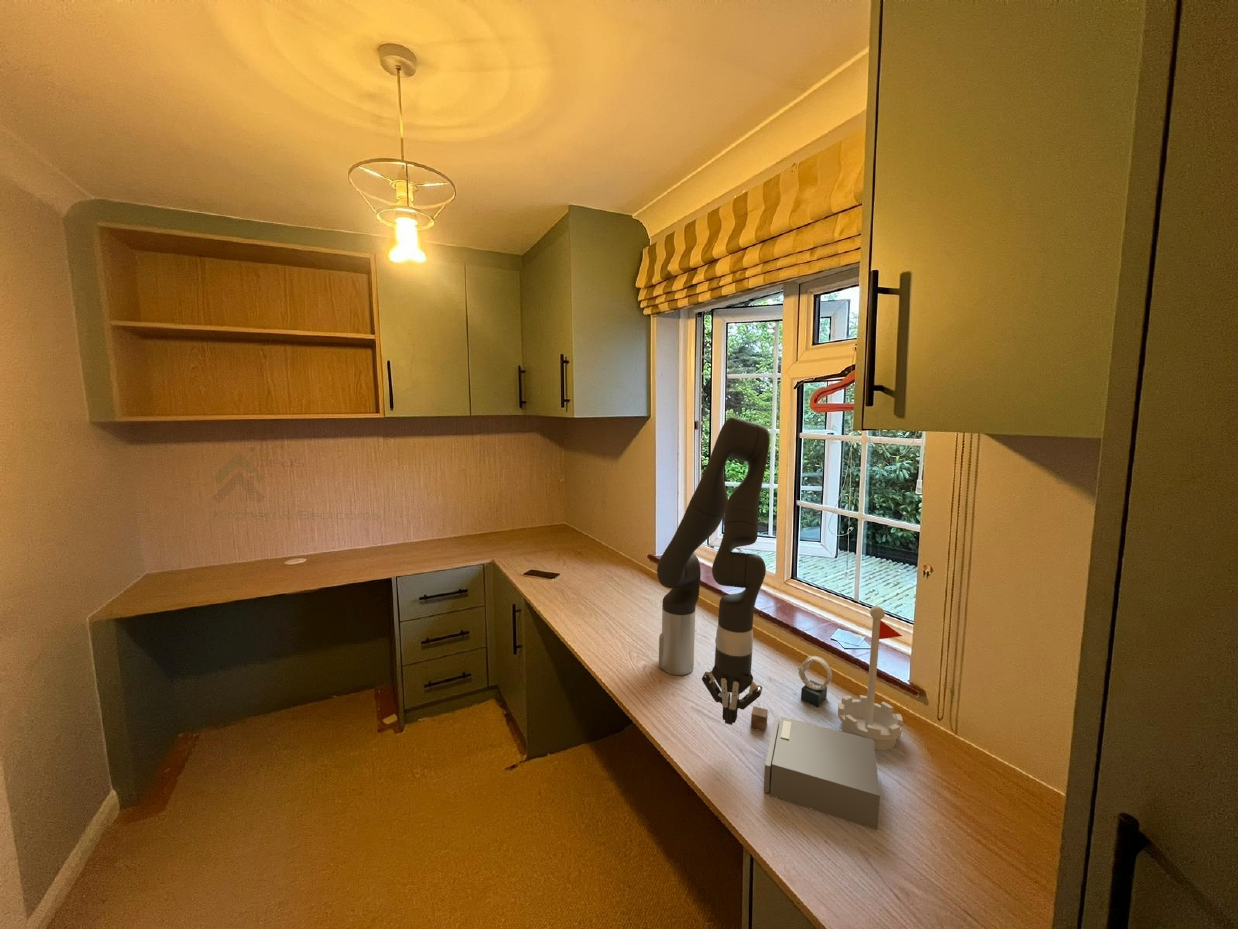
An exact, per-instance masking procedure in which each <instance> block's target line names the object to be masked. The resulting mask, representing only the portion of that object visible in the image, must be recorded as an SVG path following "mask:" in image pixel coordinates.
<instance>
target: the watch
mask: <svg viewBox="0 0 1238 929" xmlns="http://www.w3.org/2000/svg"><path fill="white" fill-rule="evenodd" d="M814 662H816V663H818V664H820V665H821V666H822V667H823V668H824V669H825V671H826V673H827V676H826V679H825V681H824V682H823V683H819V682H816V681H814V680H811V679H810V680H809V679H808V677H807V676H806V673H805V672H806V671H807V670H808V669H809V668H810V667H811V665H813V663H814ZM797 670H798V676H799V677H800V680H801V683H803V684H804V686H802V688H801V691H800V701H802V702H805V703H806V704H809V705H812V706H813V707H816V708H819V707H820V706H821V705H822V704H823V703H824V701H825V700H826V699H827V697H828V696H827V694H828V685H829V684H830V682H831V681H832V679H833V671H832V668H831V665H830V664H829V663H828V662H827V661H826V660H825V659H824V658H823V657H820V656H817V655H809V656H808V657H807V658H805V660H804V661H803V662H802V663H801V664H800V665H799V666H798V668H797Z"/></svg>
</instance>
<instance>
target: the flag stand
mask: <svg viewBox="0 0 1238 929" xmlns="http://www.w3.org/2000/svg"><path fill="white" fill-rule="evenodd" d="M869 614H870V616H871V617H872V624H871V625H872V626H871V627H872V628H871V640H870V654H869V664H868V665H869V666H868V678H867V679H868V680H867V694H866V695H862V694H859V699H858V698H857V699H856V698H853V697H852V696H851V695H845V696H843V697H841V702H837V717H838V719H839V721H840V723H841V730H842V732H845V733H849V734H853V735H857V736H861V737H865V738H869V739H873V740H874V746H875V751H876V750H877V751H884V750H885V751H886V750H890V749H892V748H893V747H894V746H895V745H896V740H897V739H898V738H899V737H900V736H901V735H902V733H903V724H904V720H903V716H902V714H901V713H895V712H894V707H893V706H892V705H891V704H889V703H888V702H886V701H882V702H880V704H879V703H877V702H875V696H876V685H877V684H876V683H877V671H878V657H879V649H880V648H879V645H880V640H886V639H892V638H897V637H898V638H899V637H903V635H902V634H901V633H899V632H898V631H896V630H895V629H894V628H893V627H891V626H889V625H888V624H886V623H885V621H882V620H883V619H884V617H885V615H886V612H885V610H884V609H883V607H881V606H878V605H875V606H874V605H873V606H872V607H871V608H870V609H869Z"/></svg>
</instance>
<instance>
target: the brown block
mask: <svg viewBox="0 0 1238 929" xmlns="http://www.w3.org/2000/svg"><path fill="white" fill-rule="evenodd" d="M768 712H769V711H768V708H767V709H765V708H762V707H759V706H753V707H752V711H751V716H750V717H751V718H750V728H751V729H752V730H757V731H760V732H764V733H765V732H766V730H767V725H768V714H769V713H768Z"/></svg>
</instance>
